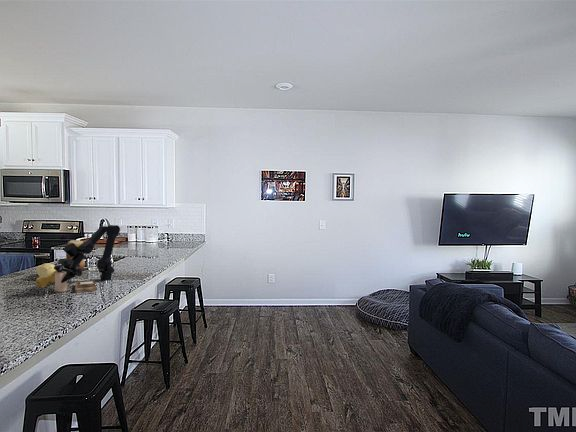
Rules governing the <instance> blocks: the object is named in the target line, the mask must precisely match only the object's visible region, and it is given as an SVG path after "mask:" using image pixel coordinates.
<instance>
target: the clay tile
mask: <svg viewBox="0 0 576 432" xmlns="http://www.w3.org/2000/svg"><path fill="white" fill-rule="evenodd" d="M79 282H80V284H92V283H93V282H85V281H79Z"/></svg>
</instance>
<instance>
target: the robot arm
mask: <svg viewBox="0 0 576 432" xmlns="http://www.w3.org/2000/svg"><path fill="white" fill-rule="evenodd" d="M120 232H121V228H120V226H119V225H115V224H114V225H113V224H109V225H106V226H104V225H101V226H99V227H98V228H97V229H96V230H95V232H94V233H93V234H92V235H91V237H90V238H88V239H87V240H85V241H83V242H84V243H82V244H81V245H80V246H79V247H76V246H75V244H74V243H71V244H69V245H67V244H66V246H64V247H63V251H64V252H65V254H66V253H67V254H68V255H69V256H70V257H72V256H73V257H72V258H71V259H67V260H66V258H59V259H58V262H57V265H55V264H54V265H55V267H54V269H55V270H56V271H57V272H58V273H59V272H66V275H65V276H64V278H63V279H62V281H61V283H64V282H65V281H67V282H68V281H69V280H71V279H73V278H76V277H82V276H83V270H82V271H81V270H80V269H79V268H77V267H79V266H80V265H79V264H80V263H81V261H82V260H83V259H84V261H85V260H86V261H87V260H88V257H87V255H88V254H91V253H92V252H93V250H95V245H96V244H97V242H98V241H99V240H100V239H101V238H102V237H103V236H104V234H106V236H107V239H106V241H105V246H104V249H103V254H102V257H101V259H98V260H97V264H96V267H97V271H98V272H99V273H101V274H100V276H99V277H100V278H99V280H100V281H101V282H107V281H112V278H113V277H112V274H114V273H115V269H114V267H113V266H112V260H111V256H112V253H113V249H114V245H115V240H116V238H117V237H118V236H119V234H120ZM83 253H84V254H83ZM64 267H65V268H64Z"/></svg>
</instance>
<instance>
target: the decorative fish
mask: <svg viewBox="0 0 576 432" xmlns="http://www.w3.org/2000/svg"><path fill="white" fill-rule="evenodd" d="M55 273H58V272H57V271H54V272H53V273H52V274H51V275H50V276H48V277H39V276H38V277H37V278H36V279H35V285H36V286H37V287H39V288H41V289H43V288H45V287H47V286H48V285H51V284H55Z"/></svg>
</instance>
